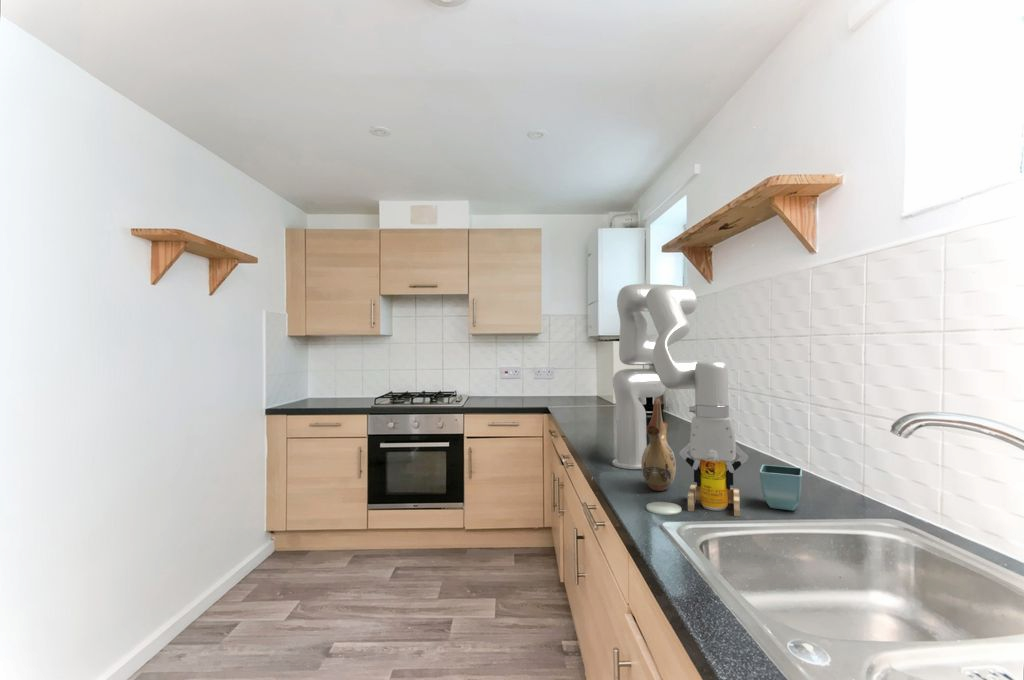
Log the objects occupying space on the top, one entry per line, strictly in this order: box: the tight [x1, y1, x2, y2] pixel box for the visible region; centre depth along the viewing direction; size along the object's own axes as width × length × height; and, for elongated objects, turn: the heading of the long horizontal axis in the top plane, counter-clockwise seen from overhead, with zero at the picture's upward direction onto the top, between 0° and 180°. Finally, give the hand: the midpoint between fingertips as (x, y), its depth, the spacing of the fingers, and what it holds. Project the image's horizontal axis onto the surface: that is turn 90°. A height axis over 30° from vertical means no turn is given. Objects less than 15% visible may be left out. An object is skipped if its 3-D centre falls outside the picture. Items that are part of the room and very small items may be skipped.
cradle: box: [687, 484, 741, 517], centre depth 120 cm, size 11×11×4 cm
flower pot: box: [759, 464, 803, 511], centre depth 120 cm, size 9×9×9 cm
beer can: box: [699, 449, 729, 512], centre depth 120 cm, size 6×6×15 cm
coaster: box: [646, 501, 682, 516], centre depth 119 cm, size 8×8×1 cm
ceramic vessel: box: [641, 397, 677, 492], centre depth 136 cm, size 16×9×25 cm, turn 154°
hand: (713, 485), depth 120 cm, fingers closed on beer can, 6 cm apart
